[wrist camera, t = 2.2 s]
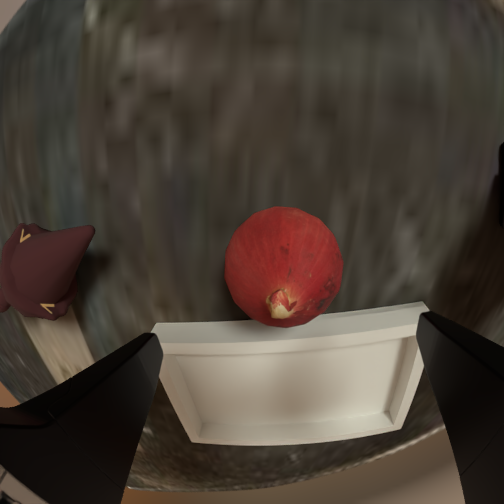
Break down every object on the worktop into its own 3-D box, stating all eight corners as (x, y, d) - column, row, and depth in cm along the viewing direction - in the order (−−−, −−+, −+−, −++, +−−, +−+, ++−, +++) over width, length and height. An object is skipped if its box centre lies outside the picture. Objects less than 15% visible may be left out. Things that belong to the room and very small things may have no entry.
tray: (422, 301, 18) (436, 319, 16) (395, 410, 23) (400, 428, 21) (156, 322, 21) (144, 342, 19) (197, 423, 25) (191, 442, 23)
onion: (346, 222, 17) (392, 282, 10) (301, 297, 19) (311, 386, 12) (259, 178, 17) (244, 208, 9) (221, 260, 19) (185, 337, 11)
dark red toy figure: (27, 171, 11) (-30, 268, 16) (69, 311, 11) (-2, 348, 16) (111, 173, 17) (25, 254, 22) (150, 276, 18) (51, 323, 23)
